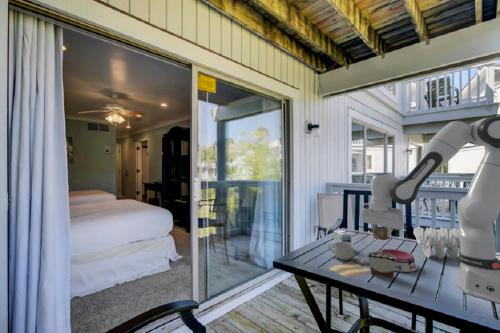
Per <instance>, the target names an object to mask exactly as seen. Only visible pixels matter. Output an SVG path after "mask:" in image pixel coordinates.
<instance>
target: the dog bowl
mask: <svg viewBox="0 0 500 333" xmlns="http://www.w3.org/2000/svg"><path fill="white" fill-rule="evenodd" d="M379 252H383V253H388V254H391V255H393V256H395V258H396V261H397V262H396V261H395V270H394V273H400V274H401V273H402V274H411V273H416V272H417V270H418V267H417V264H416V262H415V261H416V260H415V257H414V255H413V254H412V253H409V252H408V251H404V250H401V249H400V250H399V249H395V248H385V249H384V248H383V249H381V250H379Z"/></svg>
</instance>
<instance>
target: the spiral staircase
mask: <svg viewBox="0 0 500 333" xmlns="http://www.w3.org/2000/svg"><path fill="white" fill-rule="evenodd" d="M413 235H414V236H415V238H416V242H417V245H421V246H422V250H421V251H422V252H423V254H424V257H425V258H426V257H427V259H430V258H431V256H432V252H434V253H435V256H436V258H438V259H439V260H440V259H441V260H442V259H444V256H445V253H446V255H448V256H449V259H453V260H456V259H457V257H459V252H460V230H459V228H457V227H456V226H455V227H453V228H452V229H451V228H446V227H445V228H444V226H441V227H440V228H437V229H434V228H433V226H430V227H426V228H425V229H424V228H422V227H421V226H420V225H418V226H417V227H414V229H413ZM432 247H433V249H432ZM445 249H446V251H445Z"/></svg>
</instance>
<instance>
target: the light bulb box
mask: <svg viewBox="0 0 500 333" xmlns="http://www.w3.org/2000/svg"><path fill="white" fill-rule="evenodd" d="M336 242H347V243H351V244H352V245H353V243H352V242H353V241H352V233H349V232H346V231H345V230H333V244H334V243H336Z"/></svg>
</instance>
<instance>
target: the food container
mask: <svg viewBox="0 0 500 333" xmlns="http://www.w3.org/2000/svg"><path fill="white" fill-rule="evenodd" d="M367 258H369V261H370V265H369V266H370V268H369V269H370V270H371V272H370V274H371V276H375V277H382V278H386V279H392V280H395V279H394V278H395V272H394V270H395V261H396V258H395V256H393V255H391V254H388V253H383V252H380V251H371V252H368V255H367ZM396 262H397V261H396Z"/></svg>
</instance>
